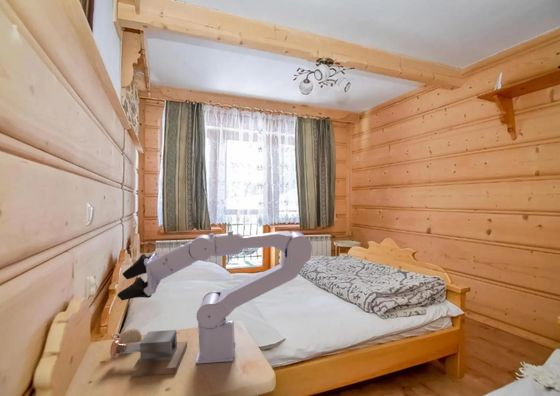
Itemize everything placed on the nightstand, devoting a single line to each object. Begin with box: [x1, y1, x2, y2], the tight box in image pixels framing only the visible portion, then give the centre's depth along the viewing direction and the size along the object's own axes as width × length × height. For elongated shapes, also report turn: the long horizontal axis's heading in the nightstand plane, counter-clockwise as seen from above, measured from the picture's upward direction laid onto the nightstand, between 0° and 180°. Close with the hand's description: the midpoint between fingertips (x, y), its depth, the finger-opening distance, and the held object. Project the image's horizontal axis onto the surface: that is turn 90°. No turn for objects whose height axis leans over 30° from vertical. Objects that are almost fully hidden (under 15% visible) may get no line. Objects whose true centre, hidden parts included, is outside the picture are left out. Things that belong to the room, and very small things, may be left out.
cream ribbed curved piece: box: [110, 327, 144, 343], centre depth 85 cm, size 4×8×5 cm, turn 129°
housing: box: [130, 329, 188, 378], centre depth 78 cm, size 10×12×6 cm
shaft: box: [109, 340, 141, 359], centre depth 78 cm, size 11×4×4 cm, turn 94°
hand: (122, 286), depth 77 cm, fingers open, 7 cm apart
